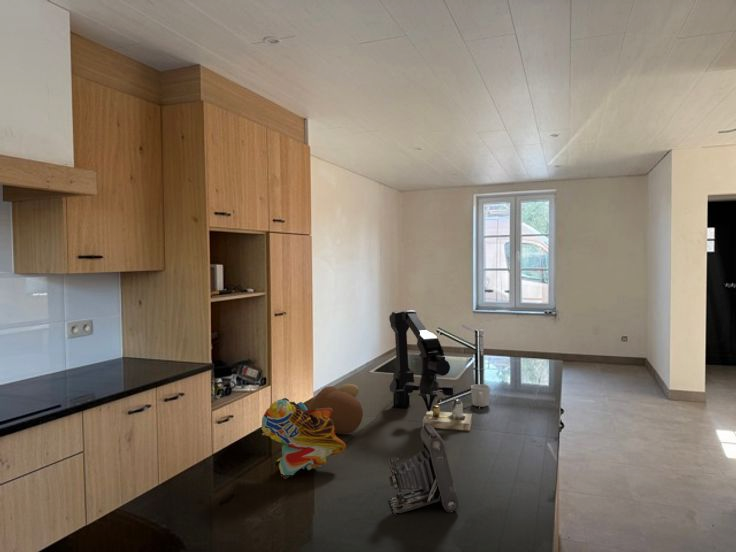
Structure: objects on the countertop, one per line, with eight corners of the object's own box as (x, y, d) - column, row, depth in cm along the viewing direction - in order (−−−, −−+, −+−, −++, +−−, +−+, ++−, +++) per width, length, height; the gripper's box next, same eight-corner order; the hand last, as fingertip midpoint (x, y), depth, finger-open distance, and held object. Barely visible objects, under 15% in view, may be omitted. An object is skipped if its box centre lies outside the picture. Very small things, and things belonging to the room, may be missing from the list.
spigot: (451, 425, 189) (451, 400, 188) (452, 422, 192) (452, 398, 192) (462, 426, 188) (462, 401, 187) (463, 423, 191) (463, 398, 191)
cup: (490, 410, 207) (490, 391, 207) (470, 409, 209) (470, 390, 208) (489, 403, 218) (489, 384, 217) (470, 402, 219) (470, 383, 219)
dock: (422, 426, 187) (422, 420, 187) (427, 417, 199) (427, 410, 199) (469, 430, 183) (469, 423, 183) (472, 420, 194) (472, 413, 194)
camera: (391, 511, 132) (371, 438, 131) (453, 491, 133) (434, 419, 132) (398, 534, 121) (376, 454, 120) (465, 512, 123) (444, 434, 121)
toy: (304, 441, 186) (347, 461, 175) (287, 416, 176) (332, 436, 165) (339, 391, 199) (381, 407, 188) (325, 365, 189) (369, 380, 178)
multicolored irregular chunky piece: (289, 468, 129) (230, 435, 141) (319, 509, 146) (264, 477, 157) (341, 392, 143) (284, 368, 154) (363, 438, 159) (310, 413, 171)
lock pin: (431, 423, 191) (431, 406, 191) (432, 421, 194) (432, 405, 194) (447, 424, 190) (447, 408, 189) (448, 422, 192) (448, 406, 192)
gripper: (400, 373, 187) (400, 415, 187) (451, 376, 182) (451, 419, 182) (406, 367, 198) (406, 407, 198) (454, 369, 193) (454, 411, 193)
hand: (429, 411), depth 193 cm, fingers closed
